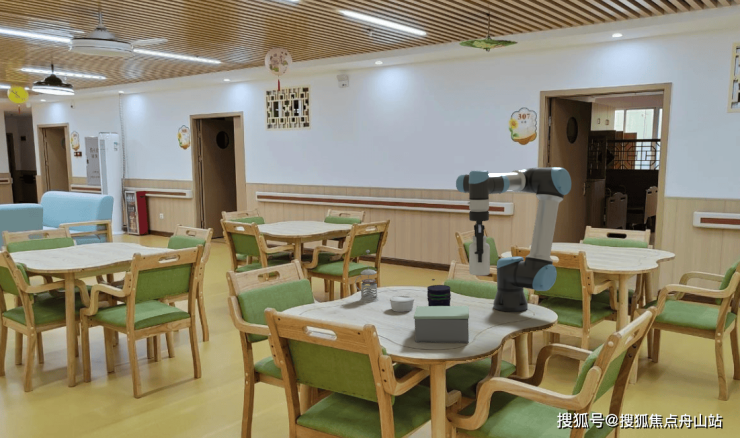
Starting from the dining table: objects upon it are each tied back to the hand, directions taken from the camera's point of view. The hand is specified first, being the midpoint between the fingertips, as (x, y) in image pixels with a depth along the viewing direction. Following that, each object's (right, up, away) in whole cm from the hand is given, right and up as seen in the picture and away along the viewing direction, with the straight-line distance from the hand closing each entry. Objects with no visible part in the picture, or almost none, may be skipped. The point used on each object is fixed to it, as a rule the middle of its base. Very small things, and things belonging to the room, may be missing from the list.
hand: (479, 268), depth 229 cm
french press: (-44, -21, +61) cm, 78 cm away
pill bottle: (0, -2, 0) cm, 2 cm away
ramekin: (-28, -23, +41) cm, 54 cm away
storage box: (-15, -26, -2) cm, 30 cm away
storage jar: (-13, -25, +18) cm, 33 cm away
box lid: (-15, -17, -3) cm, 23 cm away
